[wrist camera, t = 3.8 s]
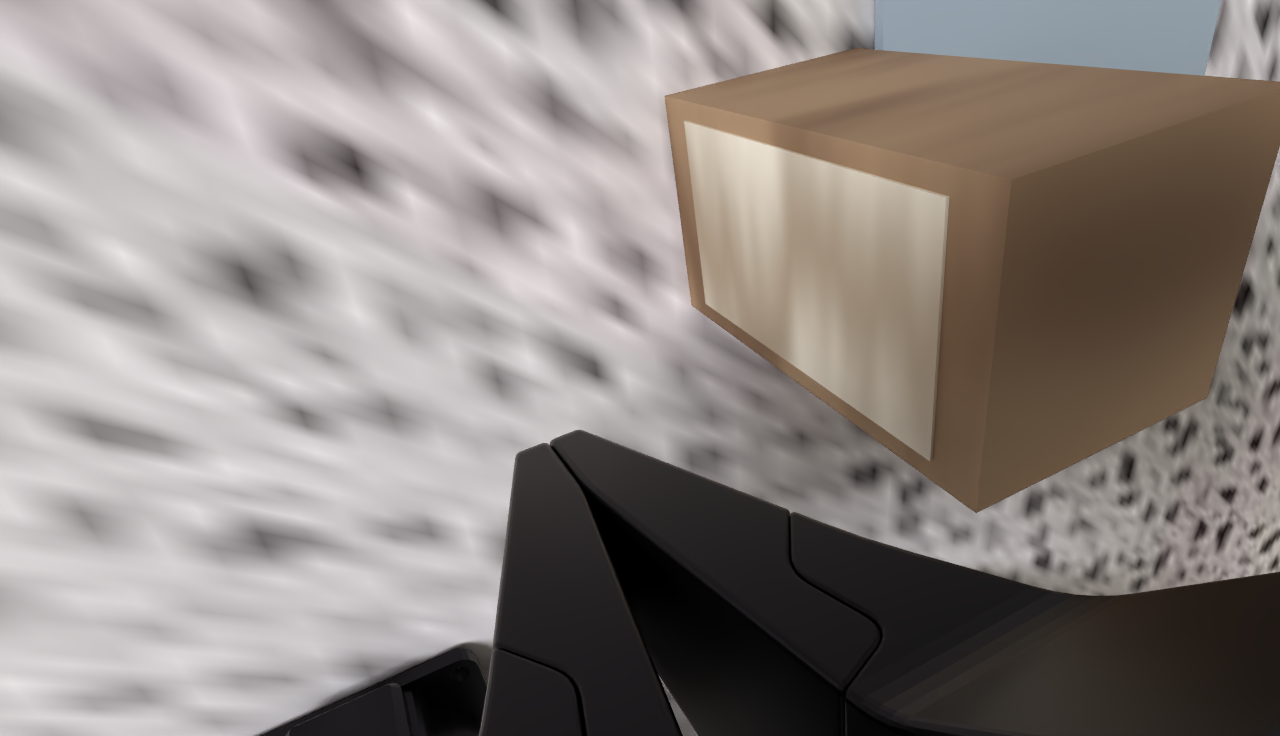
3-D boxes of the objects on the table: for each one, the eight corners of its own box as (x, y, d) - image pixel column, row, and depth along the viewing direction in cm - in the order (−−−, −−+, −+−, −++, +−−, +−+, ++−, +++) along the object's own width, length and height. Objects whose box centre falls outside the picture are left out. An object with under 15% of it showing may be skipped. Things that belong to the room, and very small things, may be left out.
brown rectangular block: (856, 248, 19) (1206, 397, 12) (690, 305, 18) (973, 514, 11) (855, 48, 17) (1297, 83, 10) (662, 96, 16) (1008, 180, 8)
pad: (1145, 294, 26) (1154, 297, 26) (871, 411, 22) (877, 416, 22) (1276, -299, 18) (1290, -303, 17) (877, -257, 14) (888, -262, 14)
